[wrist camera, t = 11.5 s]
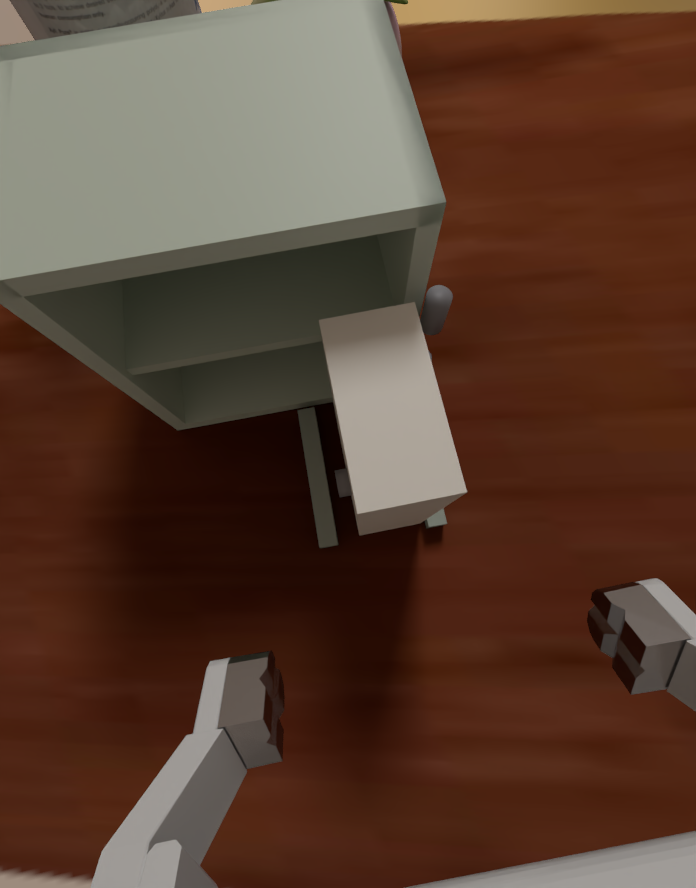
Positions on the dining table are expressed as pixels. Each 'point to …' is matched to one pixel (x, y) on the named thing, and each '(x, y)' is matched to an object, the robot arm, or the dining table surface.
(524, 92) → the dining table surface
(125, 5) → the supplement tub
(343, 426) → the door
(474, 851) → the dining table surface
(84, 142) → the cabinet
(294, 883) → the dining table surface
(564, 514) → the dining table surface
